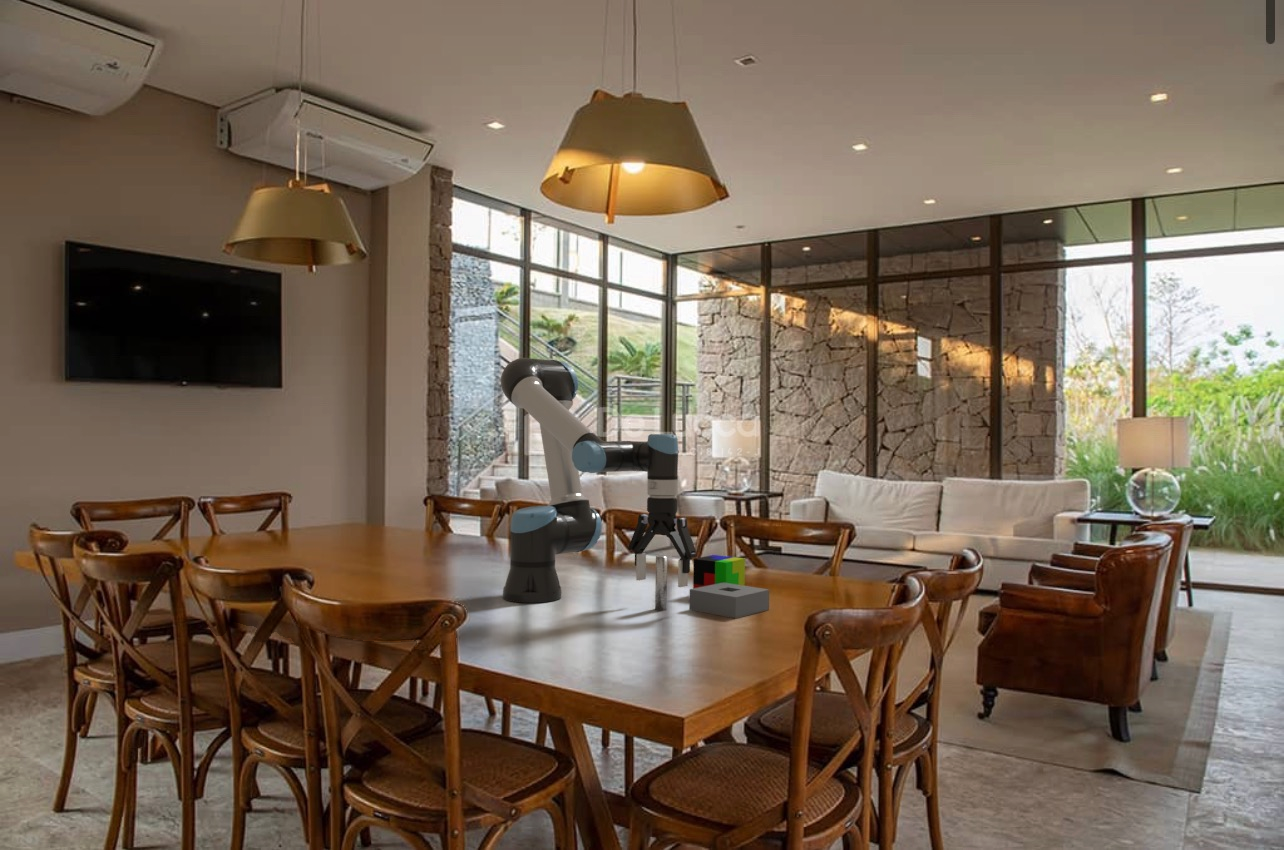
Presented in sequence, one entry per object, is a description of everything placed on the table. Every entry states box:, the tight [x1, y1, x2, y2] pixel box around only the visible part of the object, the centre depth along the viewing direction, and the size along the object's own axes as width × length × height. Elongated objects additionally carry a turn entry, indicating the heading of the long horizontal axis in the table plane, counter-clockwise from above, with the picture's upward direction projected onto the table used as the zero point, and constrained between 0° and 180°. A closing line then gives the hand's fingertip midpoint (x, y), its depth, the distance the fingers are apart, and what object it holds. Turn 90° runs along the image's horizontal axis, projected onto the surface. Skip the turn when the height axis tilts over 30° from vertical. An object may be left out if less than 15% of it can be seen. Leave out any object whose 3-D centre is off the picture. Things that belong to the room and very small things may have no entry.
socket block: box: [689, 583, 770, 619], centre depth 214 cm, size 14×14×5 cm
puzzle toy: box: [692, 554, 746, 589], centre depth 232 cm, size 10×10×10 cm
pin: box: [654, 555, 668, 612], centre depth 213 cm, size 3×3×13 cm
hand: (661, 583), depth 213 cm, fingers open, 13 cm apart
